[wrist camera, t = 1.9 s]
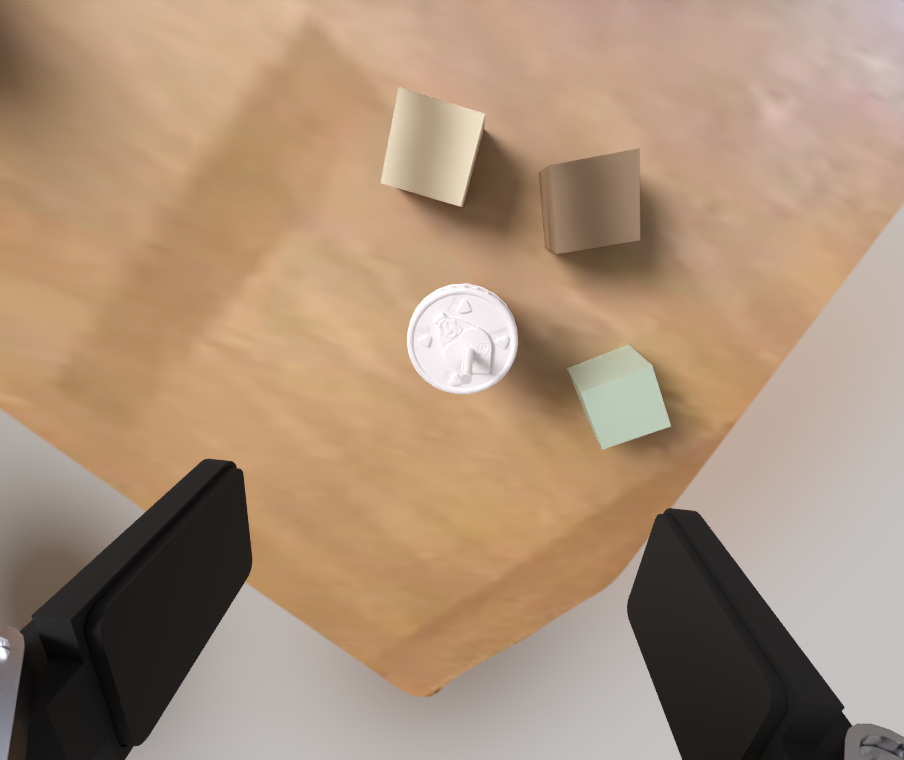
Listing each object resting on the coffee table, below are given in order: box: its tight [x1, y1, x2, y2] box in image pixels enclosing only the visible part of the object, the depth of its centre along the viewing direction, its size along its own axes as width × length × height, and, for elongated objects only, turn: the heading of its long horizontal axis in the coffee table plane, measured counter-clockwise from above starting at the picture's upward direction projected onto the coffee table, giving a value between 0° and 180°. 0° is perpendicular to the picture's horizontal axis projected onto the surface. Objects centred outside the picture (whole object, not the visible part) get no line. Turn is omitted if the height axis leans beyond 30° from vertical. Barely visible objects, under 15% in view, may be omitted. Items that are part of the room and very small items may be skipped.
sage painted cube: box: [567, 344, 671, 450], centre depth 32 cm, size 5×5×5 cm
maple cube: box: [381, 87, 485, 207], centre depth 27 cm, size 5×5×5 cm
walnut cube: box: [539, 149, 640, 254], centre depth 27 cm, size 5×5×5 cm
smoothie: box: [407, 283, 518, 394], centre depth 26 cm, size 6×6×14 cm
